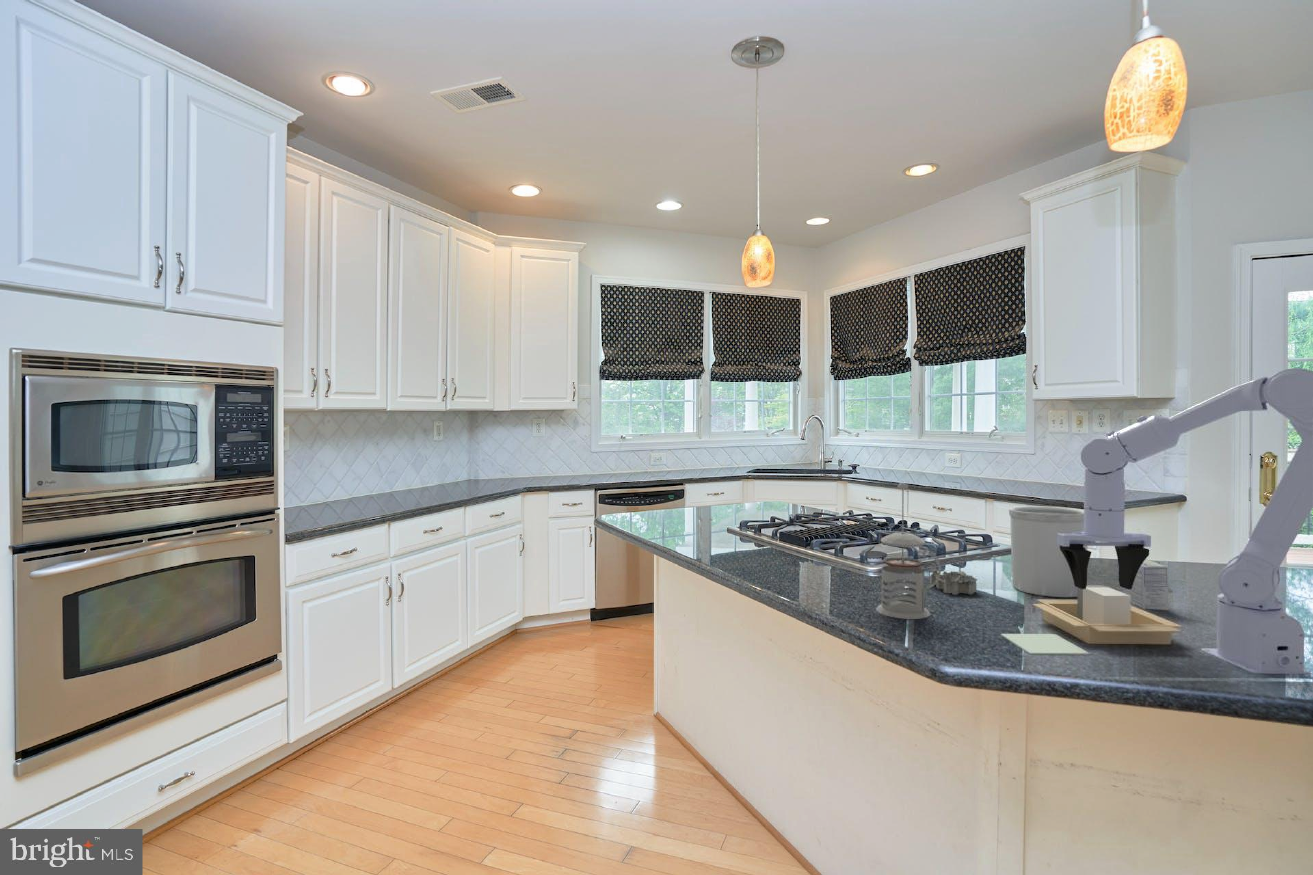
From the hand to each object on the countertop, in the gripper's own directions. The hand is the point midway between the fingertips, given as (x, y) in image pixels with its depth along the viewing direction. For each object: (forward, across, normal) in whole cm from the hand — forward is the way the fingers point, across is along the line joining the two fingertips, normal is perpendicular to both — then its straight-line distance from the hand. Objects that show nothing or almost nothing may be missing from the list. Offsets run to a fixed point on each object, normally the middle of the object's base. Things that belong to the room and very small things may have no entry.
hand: (1102, 587), depth 110 cm
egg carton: (+8, +13, -30) cm, 34 cm away
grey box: (+7, 0, 0) cm, 7 cm away
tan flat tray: (+8, 0, 0) cm, 8 cm away
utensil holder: (+8, -7, -29) cm, 31 cm away
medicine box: (+8, -19, -17) cm, 27 cm away
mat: (+8, +14, +7) cm, 17 cm away
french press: (+8, +29, -12) cm, 32 cm away
